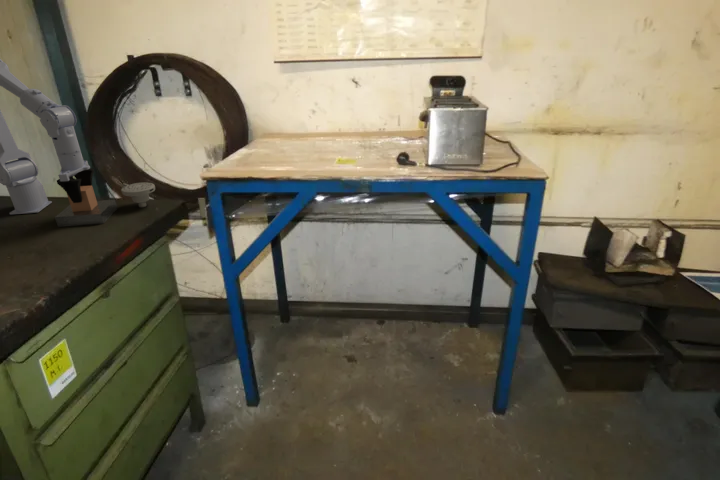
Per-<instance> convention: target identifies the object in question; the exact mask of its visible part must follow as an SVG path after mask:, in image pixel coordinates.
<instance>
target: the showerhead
mask: <svg viewBox="0 0 720 480" xmlns="http://www.w3.org/2000/svg"><path fill="white" fill-rule="evenodd" d="M122 186H123V187H122V188H121V190H120V191H121V194H122V195H123V196H127V197H131V200H132V202H134V203H135V204H137V205H138V207H139V208H144V207H146V206H147V202H148V201H149V200H150V195H149V194H151V193H153V192H155V190H156V186H155V184H154V183H151V182H148V181H147V182H142V181H141V182H136V183H135V182H134V183H132V184H131V183H130V184H126V183H124V182H123V184H122Z"/></svg>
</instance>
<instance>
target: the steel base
mask: <svg viewBox="0 0 720 480" xmlns="http://www.w3.org/2000/svg"><path fill="white" fill-rule="evenodd" d="M97 204H98V205H97V206H96V207H95V208H93V209H92V210H90V211H77V212H73V211H72V208H71V205H70V204H69V205H68V206H67V207H65V208H64V209H62V211H61V212H59V213H58V214H57V215H55V216H54V219H55V222H56V224H57V227H58V228H60V227H61V228H62V227H74V226H75V227H77V226H87V225H99V224H100V225H101V224H105V223H106V222H107V221H108V219H109V218H110V217H111V216H113V214H114V213H115V211H117V210H118V205H117V202H116V199H105V200H97Z"/></svg>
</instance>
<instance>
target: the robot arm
mask: <svg viewBox="0 0 720 480" xmlns="http://www.w3.org/2000/svg"><path fill="white" fill-rule="evenodd" d="M0 87H1V88H3V89H5V90H6V91H8V92H10V93H11V94H13V95H14V96H16V97H18V99H19V102H20V105H22V106H23V107H24V108H25V109H27V110H28V111H30V112H31V113H33V115H35V116H36V117H38V118H39V121H40V123H41V125H42V127H43V129H45V130H46V133H47V135H48V136H49V137H50V138H51V140H52V143H53V147H54V150H55V153H56V155H57V159H58V162H59V165H60V172H59V174H58V175H57V176H58V179H57V180H56V183H57V185H58V186H59V187H60V188H62V189H63V191H64V192H65V193H66V195H67V194H68V195H69V197H70V199H71V200H72V202H73V203H81V202H82V195H81V189H80V186H92V187H93V176H94V172H95V169H94V168H92V167H91V166H90V165H89V163H88V162H89V161H88V160H84V157H83V155H82V150H81V147H80V144H79V141H78V137H77V134H76V129H75V126H76V125H77V123H78V121H77V116H76V113H75V112H74V111H73V109H71V107H70V106H69V105H61V104H59V103H56V102H55V101H54V100H53V99H51V98H49V97H48V96H47V95H45V94H44V93H43V92H42V91H41V90H40V89H38V88H29V87H28V86H27V85H26V84H25V83H23V82H22V81H21V80H20V79H19V78H17V76H15V75H14V74H13V73H12V72H11V71H10V68H9V66H8V64H7V63H6V62H5V61H3V60H2V59H1V58H0ZM38 175H39V168H38V165H37V164H36V162H35V160H33V158H32V156H31V155H30V153H29V152H27V151H24V150H22V149H19V147H18V145H17V143H16V141H15V139H14V136H13V134H12V132H11V130H10V128H9V125H8V124H7V122H6V119H5V116H4V115H3V113H2V110H1V109H0V184H2V186H5V187H6V188H7V191H8V192H7V193H8V194H9V197H10V200H11V202H12V204H13V207H14V209H13V210H12V211H9V215H21V214H23V215H24V214H37V213H39V212H41V211H42V210H43V209H45V208H47V206H49V205H50V204H52V203H53V201H51V200H49V199H48V196H47V193H46V191H45V188H44V185H43V183H42V182H41V181H40V180H39V179H38V178H37V176H38Z"/></svg>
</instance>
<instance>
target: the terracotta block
mask: <svg viewBox="0 0 720 480" xmlns="http://www.w3.org/2000/svg"><path fill="white" fill-rule="evenodd" d="M80 189H81V195H82V202H81V203H73V202H72V200H71V199H70V197H69V195H68V194H67V193H66V195H67V196H66V197H67V199H68V201H69V205H71V208H72V211H73V212H77V211H90V210H92V209H93V208H95V207H96V206H97V205H98V204H97V201H98V200H97V198H96V194H95V191H94V187H93V185H92V186H80Z"/></svg>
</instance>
